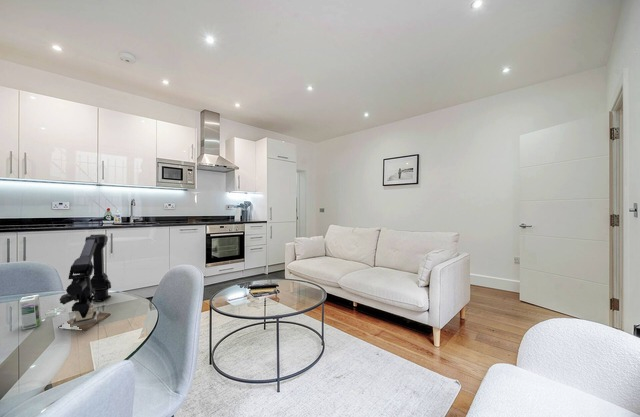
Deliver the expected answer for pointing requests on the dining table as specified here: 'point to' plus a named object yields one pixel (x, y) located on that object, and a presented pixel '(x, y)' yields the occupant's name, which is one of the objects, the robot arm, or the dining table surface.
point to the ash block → (89, 315)
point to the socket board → (88, 321)
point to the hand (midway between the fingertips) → (85, 314)
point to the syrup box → (30, 311)
